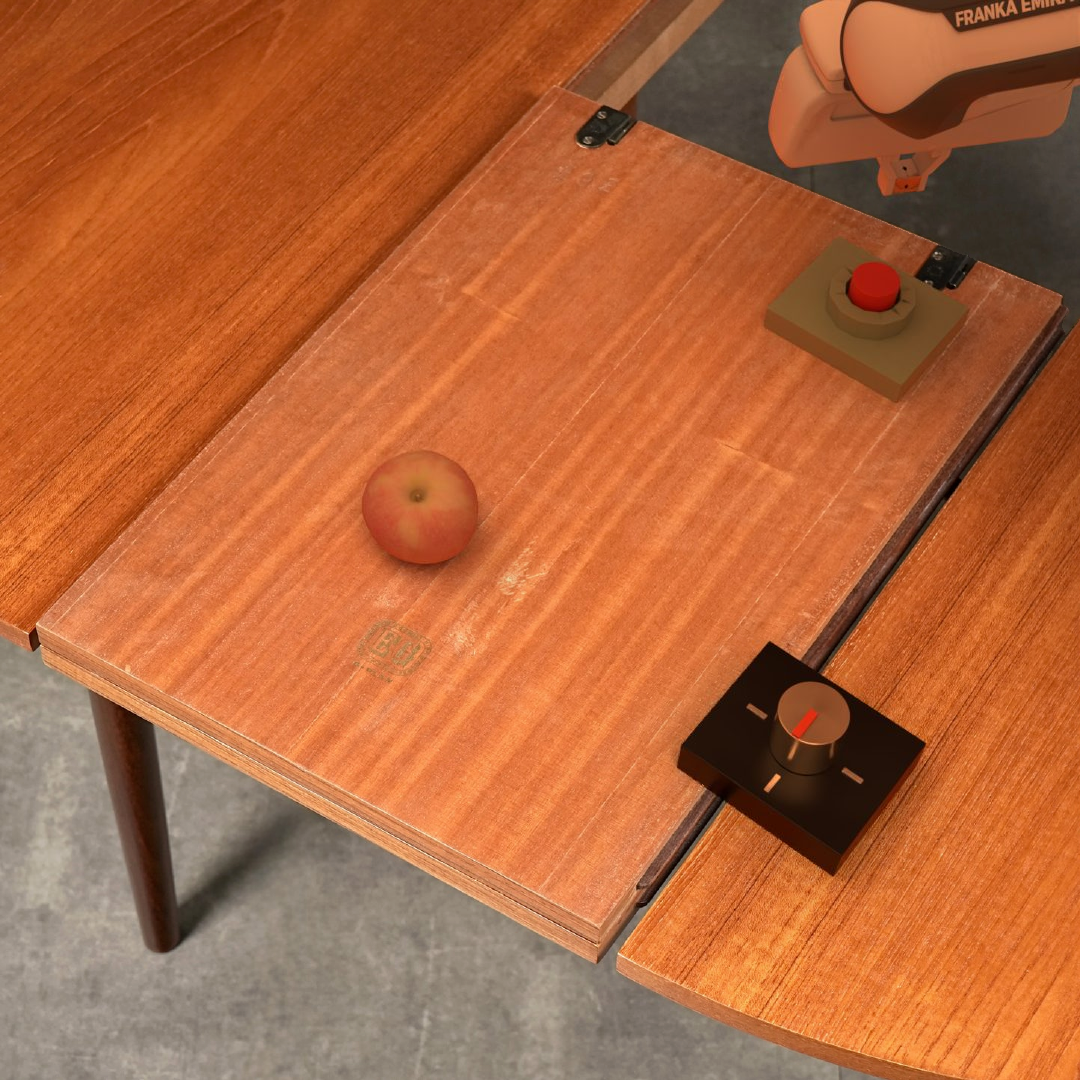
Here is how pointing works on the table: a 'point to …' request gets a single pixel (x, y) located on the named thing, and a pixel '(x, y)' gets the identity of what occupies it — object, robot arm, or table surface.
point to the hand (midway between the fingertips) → (899, 187)
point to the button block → (865, 322)
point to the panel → (782, 795)
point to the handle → (809, 728)
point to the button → (874, 286)
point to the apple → (421, 507)
